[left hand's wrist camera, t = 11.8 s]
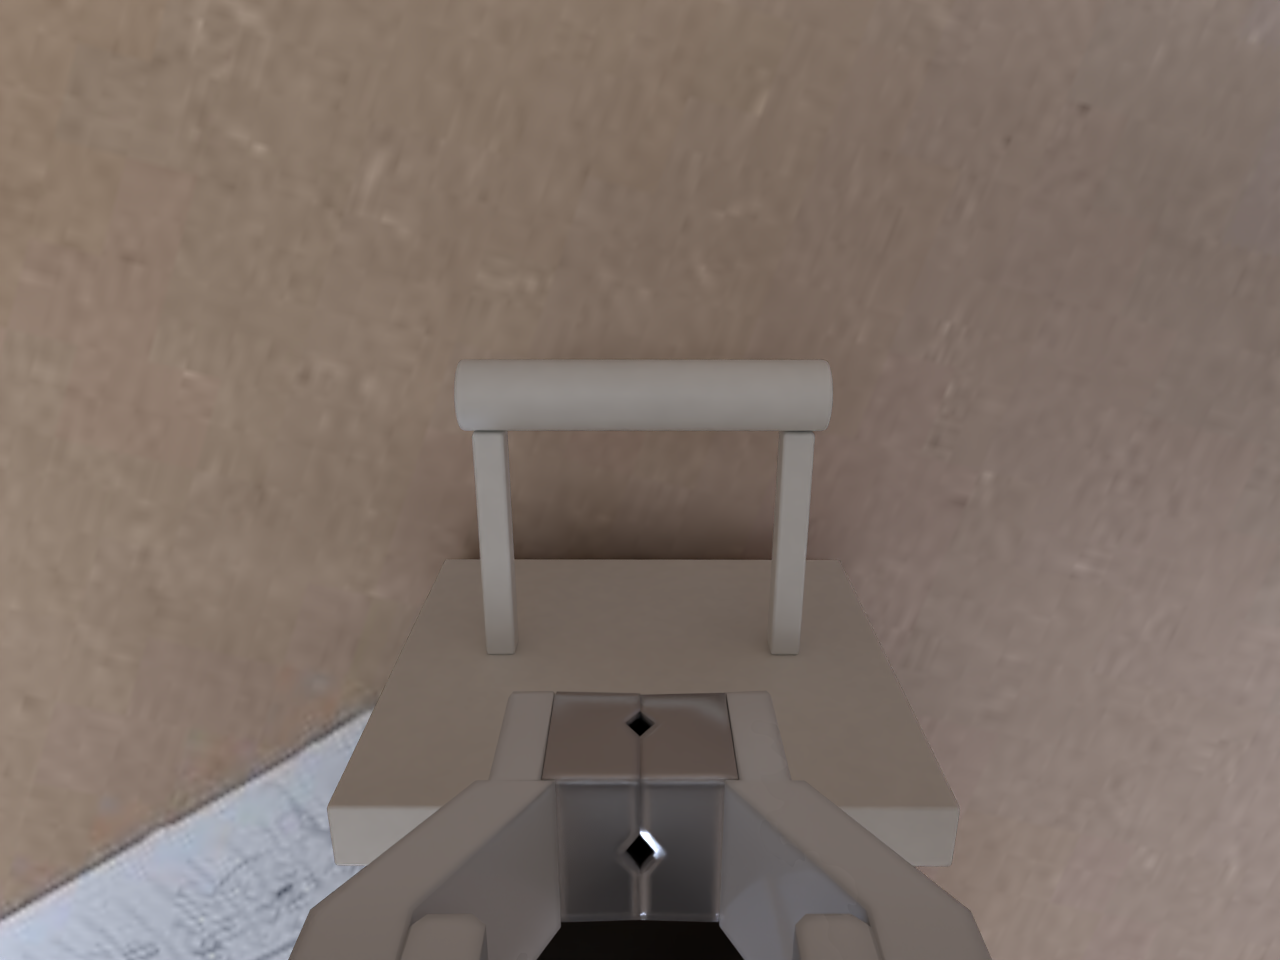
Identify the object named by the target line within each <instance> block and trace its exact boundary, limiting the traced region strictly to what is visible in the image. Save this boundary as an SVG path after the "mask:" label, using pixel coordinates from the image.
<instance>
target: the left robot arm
mask: <svg viewBox="0 0 1280 960" xmlns="http://www.w3.org/2000/svg"><path fill="white" fill-rule="evenodd" d="M619 920H659V921H695V922H719V926H720V928H721V929H722V930H723V932H724V933H725V934H726V936H727V937H728V939H729V940H730V941H731V943H732V944H733V945H734V947H735V948H736V949H737V951H738V952H739V953H740V955H741V956H742V957H743V959H744V960H992V959H991V957H990V954H989V952H988V950H987V947H986V945H985V943H984V940H983V938H982V936H981V934H980V931H979V929H978V927H977V924H976V922H975V920H974V917H973V915H972V913H971V911H970V910H969V909H967V908H966V907H965V906H964V905H962V904H961V903H960V902H958V901H957V900H956V899H955V898H953V897H952V896H951V895H950V894H948V893H947V892H946V891H944V890H943V889H942V888H941V887H939V886H938V885H937V884H936V883H934V882H933V881H932V880H930V879H929V878H928V877H927V876H925V875H924V874H923V873H922V872H920V871H919V870H918V869H916V868H915V867H914V866H913V865H911V864H910V863H909V862H908V861H906V860H905V859H904V858H902V857H901V856H900V855H899V854H897V853H896V852H895V851H894V850H892V849H891V848H890V847H888V846H887V845H886V844H885V843H883V842H882V841H881V840H880V839H878V838H877V837H876V836H874V835H873V834H872V833H871V832H869V831H868V830H867V829H866V828H864V827H863V826H862V825H860V824H859V823H858V822H857V821H855V820H854V819H853V818H852V817H850V816H849V815H848V814H846V813H845V812H844V811H843V810H841V809H840V808H839V807H838V806H836V805H835V804H834V803H833V802H831V801H830V800H829V799H827V798H826V797H825V796H824V795H822V794H821V793H820V792H819V791H817V790H816V789H815V788H813V787H812V786H811V785H810V784H808V783H807V782H806V781H804V780H792V779H791V775H790V771H789V767H788V763H787V759H786V755H785V751H784V747H783V743H782V739H781V735H780V731H779V727H778V722H777V718H776V714H775V710H774V706H773V702H772V698H771V695H770V694H769V693H768V692H767V691H742V692H725V693H686V694H640V693H607V692H558V691H557V692H556V694H555V693H554V692H553V691H513V692H512V694H511V695H510V696H509V697H508V701H507V705H506V709H505V714H504V718H503V722H502V726H501V730H500V734H499V738H498V742H497V746H496V751H495V755H494V759H493V763H492V767H491V771H490V775H489V779H488V780H476V781H474V782H473V783H472V784H470V785H469V786H468V787H467V788H465V789H464V790H463V791H462V792H460V793H459V794H458V795H456V796H455V797H454V798H453V799H451V800H450V801H449V802H447V803H446V804H445V805H444V806H442V807H441V808H440V809H438V810H437V811H436V812H435V813H433V814H432V815H431V816H430V817H428V818H427V819H426V820H424V821H423V822H422V823H421V824H419V825H418V826H417V827H415V828H414V829H413V830H412V831H410V832H409V833H408V834H407V835H405V836H404V837H403V838H401V839H400V840H399V841H398V842H396V843H395V844H394V845H392V846H391V847H390V848H389V849H387V850H386V851H385V852H384V853H382V854H381V855H380V856H378V857H377V858H376V859H375V860H373V861H372V862H371V863H369V864H368V865H367V866H366V867H364V868H363V869H362V870H361V871H359V872H358V873H357V874H355V875H354V876H353V877H352V878H350V879H349V880H348V881H346V882H345V883H344V884H343V885H341V886H340V887H339V888H338V889H336V890H335V891H334V892H332V893H331V894H330V895H329V896H327V897H326V898H325V899H323V900H322V901H321V902H320V903H318V904H317V905H316V906H315V907H313V908H312V909H311V910H310V912H309V914H308V916H307V919H306V921H305V923H304V925H303V928H302V930H301V932H300V934H299V937H298V939H297V941H296V943H295V946H294V948H293V950H292V953H291V955H290V957H289V959H288V960H537V958H538V957H539V956H540V954H541V953H542V952H543V950H544V949H545V947H546V946H547V945H548V943H549V942H550V941H551V939H552V938H553V937H554V935H555V934H556V933H557V931H558V930H559V929H560V927H561V922H585V921H619Z"/></svg>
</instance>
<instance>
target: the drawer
mask: <svg viewBox="0 0 1280 960" xmlns="http://www.w3.org/2000/svg"><path fill="white" fill-rule="evenodd" d="M454 402H455V412H456V418H457V421H458V424H459V427H460V428H461V429H462V430H465V431H474V433H473V435H472V445H473V460H474V475H475V490H476V505H477V519H478V534H479V549H480V559H447V560H445V561H444V564H443V566H442V568H441V570H440V572H439V574H438V576H437V578H436V580H435V582H434V584H433V587H432V589H431V591H430V593H429V595H428V597H427V599H426V601H425V603H424V605H423V607H422V610H421V612H420V614H419V616H418V618H417V620H416V622H415V624H414V626H413V628H412V630H411V633H410V635H409V637H408V639H407V641H406V643H405V645H404V647H403V649H402V651H401V654H400V656H399V658H398V660H397V662H396V664H395V666H394V668H393V670H392V672H391V674H390V677H389V679H388V681H387V683H386V685H385V687H384V689H383V691H382V693H381V695H380V697H379V700H378V702H377V704H376V706H375V708H374V710H373V712H372V714H371V716H370V718H369V720H368V723H367V725H366V727H365V729H364V731H363V733H362V735H361V737H360V739H359V741H358V743H357V746H356V748H355V750H354V752H353V754H352V756H351V758H350V760H349V762H348V764H347V767H346V769H345V771H344V773H343V775H342V777H341V779H340V781H339V783H338V785H337V787H336V790H335V792H334V794H333V796H332V798H331V800H330V802H329V804H328V807H327V812H328V819H329V826H330V832H331V839H332V846H333V852H334V859H335V863H336V865H339V866H367V865H368V864H369V863H371V862H372V861H373V860H375V859H376V858H377V857H378V856H380V855H381V854H382V853H384V852H385V851H386V850H387V849H389V848H390V847H391V846H392V845H394V844H395V843H396V842H398V841H399V840H400V839H401V838H403V837H404V836H405V835H407V834H408V833H409V832H410V831H412V830H413V829H414V828H415V827H417V826H418V825H419V824H421V823H422V822H423V821H424V820H426V819H427V818H428V817H430V816H431V815H432V814H433V813H435V812H436V811H437V810H438V809H440V808H441V807H442V806H444V805H445V804H446V803H447V802H449V801H450V800H451V799H453V798H454V797H455V796H456V795H458V794H459V793H460V792H462V791H463V790H464V789H465V788H467V787H468V786H469V785H470V784H472V783H473V782H474V781H476V780H488V779H489V775H490V771H491V767H492V763H493V759H494V755H495V751H496V746H497V742H498V738H499V734H500V730H501V726H502V722H503V718H504V714H505V709H506V705H507V701H508V697H509V696H510V695H511V694H512V692H513V691H553V692H554V693H555V694H556V692H557V691H558V692H607V693H640V694H686V693H725V692H742V691H767V692H768V693H769V694H770V695H771V698H772V702H773V706H774V710H775V714H776V718H777V722H778V727H779V731H780V735H781V739H782V743H783V747H784V751H785V755H786V759H787V763H788V767H789V771H790V775H791V779H792V780H804V781H806V782H807V783H808V784H810V785H811V786H812V787H813V788H815V789H816V790H817V791H819V792H820V793H821V794H822V795H824V796H825V797H826V798H827V799H829V800H830V801H831V802H833V803H834V804H835V805H836V806H838V807H839V808H840V809H841V810H843V811H844V812H845V813H846V814H848V815H849V816H850V817H852V818H853V819H854V820H855V821H857V822H858V823H859V824H860V825H862V826H863V827H864V828H866V829H867V830H868V831H869V832H871V833H872V834H873V835H874V836H876V837H877V838H878V839H880V840H881V841H882V842H883V843H885V844H886V845H887V846H888V847H890V848H891V849H892V850H894V851H895V852H896V853H897V854H899V855H900V856H901V857H902V858H904V859H905V860H906V861H908V862H909V863H910V864H911V865H913V866H950V865H951V864H952V858H953V852H954V845H955V839H956V832H957V826H958V820H959V813H960V808H959V805H958V803H957V801H956V799H955V797H954V795H953V793H952V791H951V789H950V787H949V785H948V782H947V780H946V778H945V776H944V774H943V772H942V770H941V768H940V766H939V764H938V762H937V760H936V758H935V756H934V754H933V752H932V750H931V747H930V745H929V743H928V741H927V739H926V737H925V735H924V733H923V731H922V729H921V727H920V725H919V723H918V721H917V719H916V717H915V714H914V712H913V710H912V708H911V706H910V704H909V702H908V700H907V698H906V696H905V694H904V692H903V690H902V688H901V686H900V684H899V682H898V679H897V677H896V675H895V673H894V671H893V669H892V667H891V665H890V663H889V661H888V659H887V657H886V655H885V653H884V651H883V649H882V647H881V644H880V642H879V640H878V638H877V636H876V634H875V632H874V630H873V628H872V626H871V624H870V622H869V620H868V618H867V616H866V614H865V612H864V609H863V607H862V605H861V603H860V601H859V599H858V597H857V595H856V593H855V591H854V589H853V587H852V585H851V583H850V581H849V579H848V577H847V574H846V572H845V570H844V568H843V566H842V564H841V562H840V561H839V560H806V553H807V539H808V525H809V511H810V498H811V484H812V470H813V456H814V443H815V436H814V433H813V432H812V431H823V430H825V429H827V427H828V424H829V422H830V418H831V413H832V405H833V380H832V373H831V369H830V366H829V363H828V362H827V361H825V360H666V359H463V360H461V361H459V363H458V366H457V369H456V373H455V382H454ZM508 431H779V442H778V460H777V477H776V494H775V511H774V529H773V546H772V560H543V559H514V544H513V525H512V506H511V487H510V468H509V449H508ZM537 960H744V959H743V957H742V956H741V955H740V953H739V952H738V951H737V949H736V948H735V947H734V945H733V944H732V943H731V941H730V940H729V939H728V937H727V936H726V934H725V933H724V932H723V930H722V929H721V928H720V926H719V922H695V921H659V920H619V921H585V922H561V927H560V929H559V930H558V931H557V933H556V934H555V935H554V937H553V938H552V939H551V941H550V942H549V943H548V945H547V946H546V947H545V949H544V950H543V952H542V953H541V954H540V956H539V957H538V958H537Z"/></svg>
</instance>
